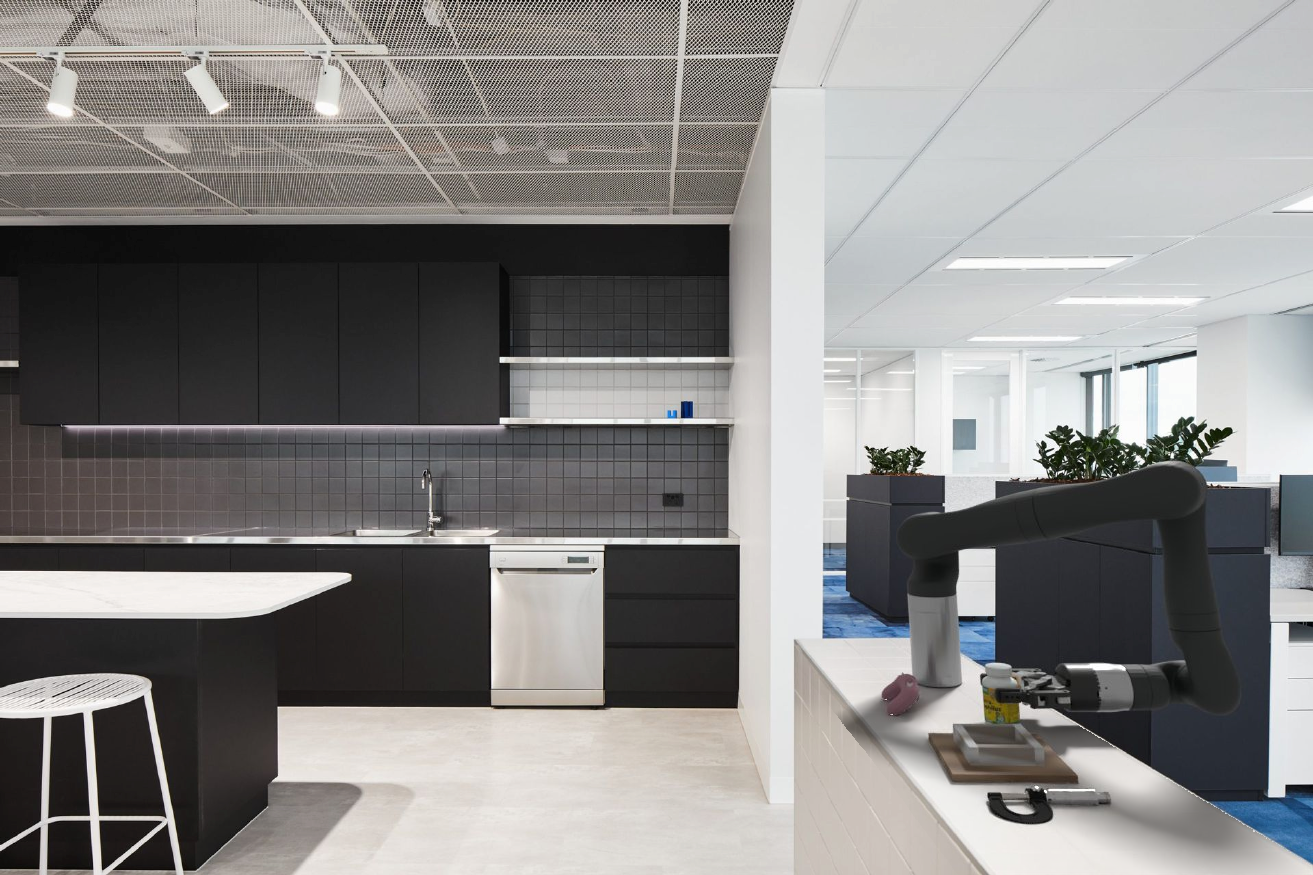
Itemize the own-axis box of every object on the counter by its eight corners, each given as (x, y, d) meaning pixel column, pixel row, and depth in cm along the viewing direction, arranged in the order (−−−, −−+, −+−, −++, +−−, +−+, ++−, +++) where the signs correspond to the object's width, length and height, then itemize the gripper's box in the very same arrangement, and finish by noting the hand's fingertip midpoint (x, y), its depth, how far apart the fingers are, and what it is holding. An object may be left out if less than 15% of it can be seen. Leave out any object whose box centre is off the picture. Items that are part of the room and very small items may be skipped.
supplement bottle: (1028, 726, 123) (1024, 666, 123) (1003, 732, 121) (999, 671, 121) (1001, 717, 128) (997, 659, 128) (977, 722, 126) (973, 664, 126)
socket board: (928, 739, 119) (927, 716, 119) (1036, 739, 117) (1035, 717, 117) (953, 781, 103) (951, 755, 104) (1078, 783, 101) (1076, 756, 101)
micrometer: (999, 827, 91) (998, 805, 91) (982, 801, 98) (981, 781, 98) (1133, 829, 89) (1131, 807, 89) (1105, 802, 96) (1104, 782, 96)
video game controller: (910, 725, 130) (927, 689, 130) (884, 713, 131) (901, 677, 131) (902, 707, 140) (918, 673, 140) (879, 696, 141) (894, 662, 140)
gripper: (1074, 652, 130) (974, 653, 132) (1111, 675, 116) (999, 676, 118) (1077, 697, 129) (977, 697, 132) (1114, 725, 115) (1002, 725, 118)
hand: (987, 687), depth 125 cm, fingers open, 8 cm apart
